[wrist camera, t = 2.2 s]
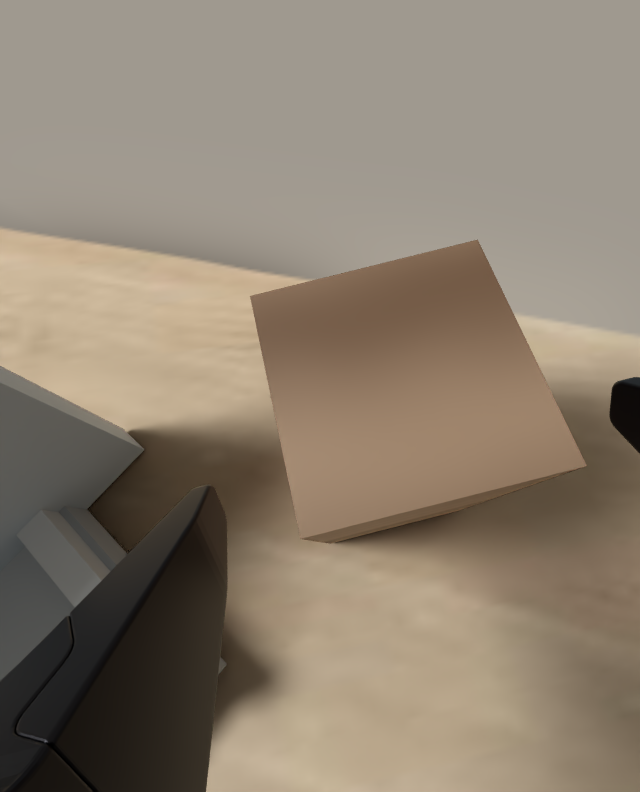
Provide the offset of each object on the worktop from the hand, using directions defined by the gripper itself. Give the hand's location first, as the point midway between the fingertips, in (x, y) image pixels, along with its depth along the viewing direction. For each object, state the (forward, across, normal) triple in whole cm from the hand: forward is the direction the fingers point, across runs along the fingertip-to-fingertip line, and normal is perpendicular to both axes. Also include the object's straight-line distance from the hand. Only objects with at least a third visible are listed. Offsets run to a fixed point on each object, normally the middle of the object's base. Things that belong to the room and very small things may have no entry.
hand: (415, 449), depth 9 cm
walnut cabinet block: (+7, 0, +5) cm, 9 cm away
